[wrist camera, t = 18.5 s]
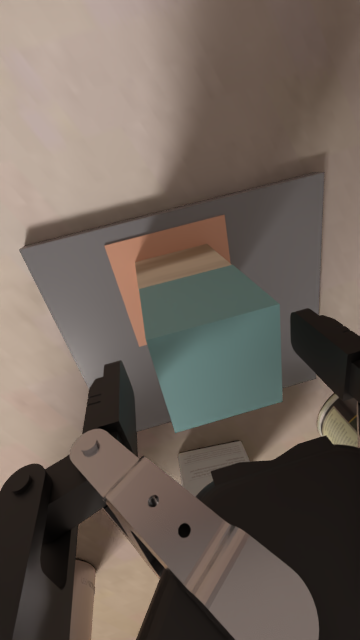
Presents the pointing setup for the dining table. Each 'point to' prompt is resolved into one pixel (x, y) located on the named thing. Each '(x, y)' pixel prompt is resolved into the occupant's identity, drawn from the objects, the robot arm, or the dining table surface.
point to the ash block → (178, 265)
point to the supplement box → (208, 464)
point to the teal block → (213, 345)
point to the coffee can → (339, 421)
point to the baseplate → (171, 236)
